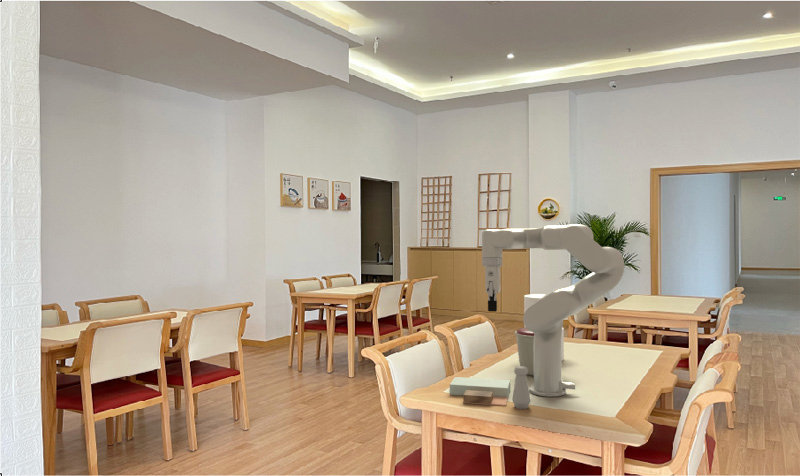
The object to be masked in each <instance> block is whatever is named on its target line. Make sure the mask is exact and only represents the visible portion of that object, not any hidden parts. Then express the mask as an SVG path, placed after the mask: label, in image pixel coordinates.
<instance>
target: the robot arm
mask: <svg viewBox="0 0 800 476" xmlns="http://www.w3.org/2000/svg"><path fill="white" fill-rule="evenodd" d="M481 233H482V234H481V267H484V277H485V278H484V280H485V281H484V284H485V287H484V289H485V293H487V296H488V297H487V298H488V300H487V311H488V312H497V310H498V300H497V295H498V294H499V293H500V292H501V291H502V290H501V286H502V285H501V268H500V267H503V250H519V249H542V250H547V251H550V250H552V251H553V250H554V251H555V250H557V251H558V250H559V251H560V250H561V251H562V250H564V251H565V250H566V251H567V252H568V253H569V254H570V255H571V256H573V257H574V258H575V260H577V261H578V262H579V263H580V265H582V266H583V267H585V268H586V269H587V270H588V271H590V272H591V273H589V274H587V275H586V276H584V277H583V278H582V279H580V280H579V281H577V282H575V283H574V284H572V285H570V286H567V287H564V288H563V287H562V288H559V289H556V290H554V291H552V292H550V293H548V294H546V297H544V298H543V299H541V300H539V301H538V302H536V303H535V304H533V305H532V306H530V307H529V308H528V309H527V310H526V311H525V313H524V312H523V313H524V314H523V319H522V320H523V321H522V322H523V326H524V325H525V327H526V328H527V329H528V330H529V331H531V332H534V376H533V385H530V386H529V387H528V389H529V393H531V394H532V395H536V396H540V397H549V398H550V397H551V398H553V397H554V398H555V397H561V396H564V395H566V394H567V390H576V384H575V383H572V382H566V381H564V380H563V378H562V361H561V338H562V327H563V326H564V320H565V319H567V318H569V317H571V316H575V315H576V314H579V313H580V312H581V311H583V310H584V309H585V308H587V307H588V306H590V305H592V304H593V303H594V302H597V301H598V300H599V299H601V298H602V297H603V296H606V295H607V294H608V293H610V292H611V291H612V290H613V289H615V287H616V286H617V285H618V284H619V283H620V281H621V280H622V278H623V276H624V275H623V274H624V272H625V260H624V257H623V255H622V253H621V252H620V251H619V250H618V249H617V248H614V247H612V246H601V245H600V244H599V243H598V242H596V240H595V239H594V233H593V230H592V229H591V228H590V227H589V226H588V225H586V224H577V223H575V224H574V223H573V224H572V223H571V224H564V225H563V224H562V225H558V224H556V225H545V226H542V227H538V228H535V227H534V228H502V229H495V228H494V229H493V228H492V229H491V228H490V229H484V230H482V232H481ZM563 328H564V327H563Z"/></svg>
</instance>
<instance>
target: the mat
mask: <svg viewBox="0 0 800 476" xmlns="http://www.w3.org/2000/svg"><path fill="white" fill-rule="evenodd" d="M508 399H509V397H508V398H507V397H493V400H492V402H491V404H483V403H469V402H463V401H462V404H471V405H472V404H473V405H487V406H498V407H499V406H502V407H507V403H508Z"/></svg>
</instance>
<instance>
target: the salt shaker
mask: <svg viewBox="0 0 800 476" xmlns="http://www.w3.org/2000/svg"><path fill="white" fill-rule="evenodd" d="M513 372H514V374H515V380H514V387H513V392H512V403H513V405H514V407H515V409H519V410H527V409H528V408H529V405H530V404H531V401H532V400H531V395H530V391H529V384H528V378H527V374H528V369H527V368H526V367H523V366H520V365H519V366H515V368H514V371H513Z"/></svg>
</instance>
